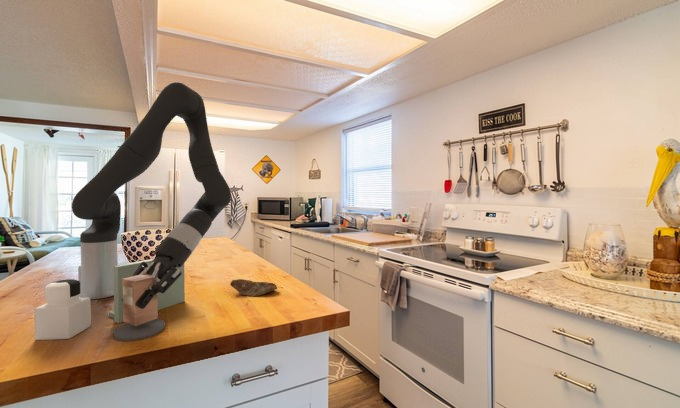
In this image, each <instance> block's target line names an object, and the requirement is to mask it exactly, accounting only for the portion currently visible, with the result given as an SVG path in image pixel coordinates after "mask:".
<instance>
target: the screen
mask: <svg viewBox="0 0 680 408" xmlns="http://www.w3.org/2000/svg"><path fill="white" fill-rule="evenodd" d="M153 259H154V258H151V259H145V260H141V261H134V262H127V263H124V264H123V263H122V264H118V265H117V266H113V273H114V295H113V310H109V311H108V313H107V316H108V317H110V318H111V319H114V323H117V324H121V323H124V322H123V302H122V301H121V299H122V298H123V289H122V279H123V278H127V277H132V276H133V274H134V273H135V271H136V270H137V268H138V267H139V265H140V264H141V263H142V262H145V263H150V262H151V261H152V260H153ZM177 269H178V270H179V271H180V272H181V273H182V274H181V276H180V277H179V278H178V279H177V280H176V281H175V282H174V283H173V284H172V285H171V286H170V287H169V288H168V289H167V290H166V291H165V292H164V293H161V292H160V293H158V294H157V306H158V311H160V310H163V309H167V308H169V307H172V306H175V305H179V304H182V303H184V302H185V300H186V298H185V297H186V296H185V295H186V293H185V263H184V264H183V266H182V267H177ZM166 284H167V282H166V283H165V285H166ZM165 285H164V286H165ZM164 286H162V287H164Z"/></svg>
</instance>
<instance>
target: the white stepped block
mask: <svg viewBox="0 0 680 408" xmlns="http://www.w3.org/2000/svg"><path fill="white" fill-rule="evenodd" d="M44 287H45V288H44V290H45V292H44V293H45V294H44V295H45V303H44V304H42V305H40V306H37V307H35V308H34V310H33V311H34V312H33V313H34V314H33V315H34V340H36V341H49V340H50V341H51V340H52V341H53V340H54V341H55V340H69V339H71V338H73V337H74V336H76V335H78V334H80V333H81V332H83V331H85V330H86V329H87V330H88V329H89V327H91V326H92V320H91V319H92V317H91V316H92V315H91V314H92V313H91V311H92V310H91V299H90V298H89V297H85V298H82V297H80V282H79V279H78V280H77V279H74V278H73V279H72V278H70V279H61V280H60V279H59V280H56V281H52V282H50V283H48V284H46V286H44Z"/></svg>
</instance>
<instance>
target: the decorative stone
mask: <svg viewBox="0 0 680 408" xmlns="http://www.w3.org/2000/svg"><path fill="white" fill-rule="evenodd" d="M229 285H230V286H231V288H233V289H234V290H236V292H238V293H239V294H241V295H243V296H248V297H255V298H256V297H261V296H263V295H265V294H268V293H271V292H273V291H276V290H278V286H277V285H276V283H273V282H269V281H253V280H249V279H243V278H241V279H240V278H239V279H232V280H231V281H230V284H229Z"/></svg>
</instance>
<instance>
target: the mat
mask: <svg viewBox="0 0 680 408" xmlns="http://www.w3.org/2000/svg"><path fill="white" fill-rule="evenodd" d="M165 324H166V323H165V320H163V319H160V318H157V319H154V320H151V321H148V322H146V323H143V324H140V325H137V326H134V325H131V324H129V323H126V322H125V323H124V324H122V325H120V326H118V327H117V328H116V329H115V330H114V331H113V339H115V340H117V341H120V342H133V341H140V340H144V339H148V338H151V337H154V336H156V335H158V334H161V332H163V331H164V330H165V328H166V325H165Z"/></svg>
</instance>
